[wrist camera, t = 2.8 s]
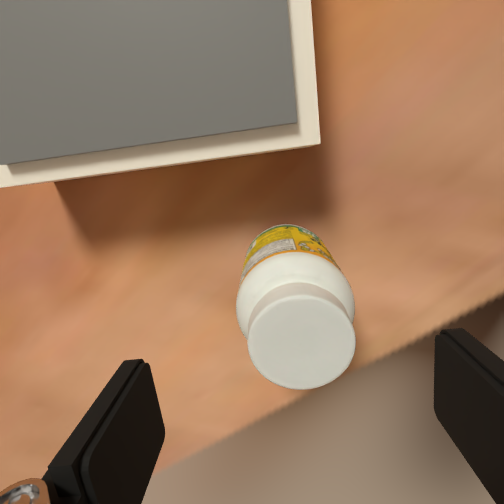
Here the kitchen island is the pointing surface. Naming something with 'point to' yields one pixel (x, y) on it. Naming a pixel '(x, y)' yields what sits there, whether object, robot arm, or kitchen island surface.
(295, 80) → the plate
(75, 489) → the robot arm
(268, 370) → the supplement bottle
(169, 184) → the kitchen island surface
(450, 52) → the kitchen island surface
